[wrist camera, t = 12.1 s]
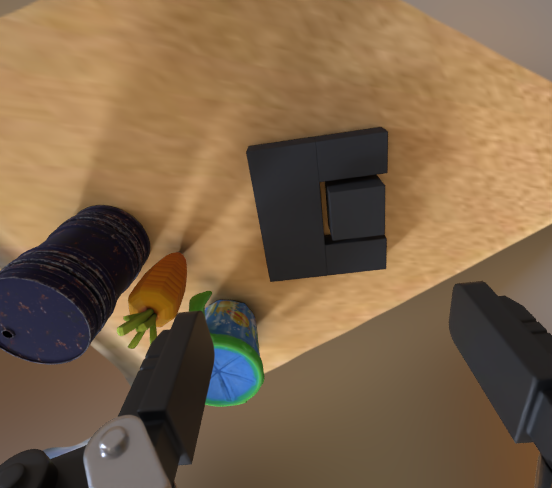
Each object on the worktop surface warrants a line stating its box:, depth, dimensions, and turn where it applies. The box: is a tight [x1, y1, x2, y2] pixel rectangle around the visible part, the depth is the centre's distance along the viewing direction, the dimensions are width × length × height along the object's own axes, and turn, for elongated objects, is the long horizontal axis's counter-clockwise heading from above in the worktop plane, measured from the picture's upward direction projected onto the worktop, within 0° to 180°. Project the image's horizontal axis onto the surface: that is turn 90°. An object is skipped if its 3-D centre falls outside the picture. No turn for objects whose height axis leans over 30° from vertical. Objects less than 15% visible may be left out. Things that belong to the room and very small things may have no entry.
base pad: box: [246, 127, 388, 282], centre depth 38 cm, size 16×14×2 cm
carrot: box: [117, 252, 187, 349], centre depth 36 cm, size 5×5×15 cm
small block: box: [325, 175, 385, 241], centre depth 37 cm, size 6×6×4 cm
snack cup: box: [189, 291, 264, 406], centre depth 43 cm, size 16×10×10 cm
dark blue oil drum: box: [0, 205, 150, 364], centre depth 34 cm, size 10×10×18 cm
